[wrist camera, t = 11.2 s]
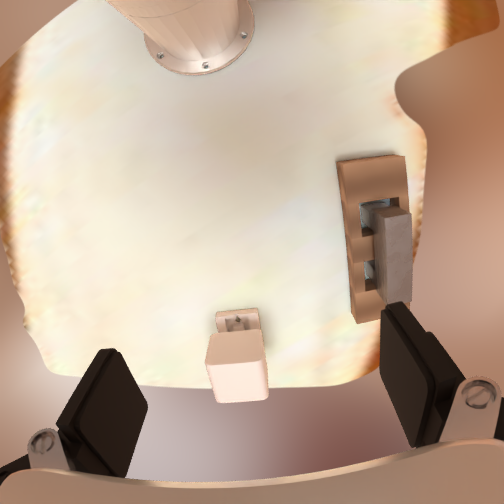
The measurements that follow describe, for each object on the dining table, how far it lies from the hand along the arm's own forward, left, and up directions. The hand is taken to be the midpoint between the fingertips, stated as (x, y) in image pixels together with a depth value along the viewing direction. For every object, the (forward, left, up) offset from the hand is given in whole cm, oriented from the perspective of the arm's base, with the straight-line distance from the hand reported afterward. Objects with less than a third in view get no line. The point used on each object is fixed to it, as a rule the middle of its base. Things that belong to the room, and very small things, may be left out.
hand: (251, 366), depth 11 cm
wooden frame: (+7, +14, -28) cm, 32 cm away
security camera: (+17, -5, -28) cm, 34 cm away
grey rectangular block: (+7, +14, -28) cm, 32 cm away
